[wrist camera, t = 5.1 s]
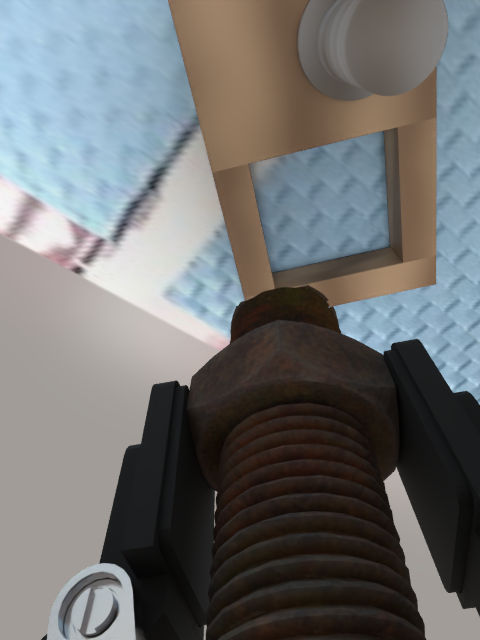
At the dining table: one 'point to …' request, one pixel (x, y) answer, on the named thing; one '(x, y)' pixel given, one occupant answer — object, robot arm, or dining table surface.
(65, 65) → the dining table surface
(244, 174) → the wooden peg holder
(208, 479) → the bolt
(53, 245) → the dining table surface
